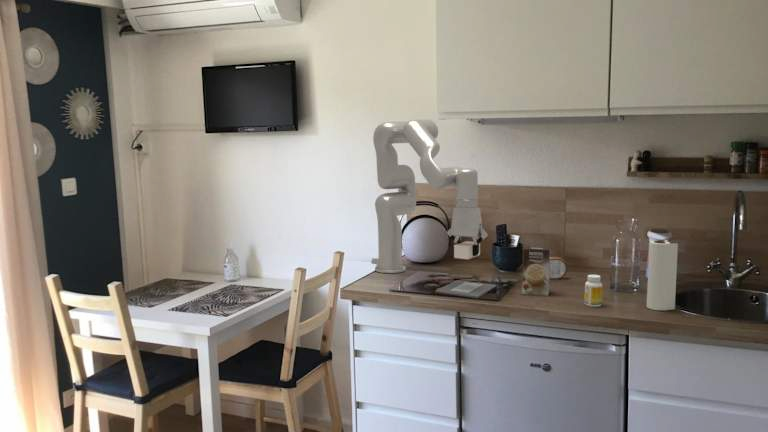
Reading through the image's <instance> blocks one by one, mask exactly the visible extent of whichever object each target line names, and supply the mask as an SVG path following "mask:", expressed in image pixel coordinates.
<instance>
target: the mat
mask: <svg viewBox="0 0 768 432" xmlns="http://www.w3.org/2000/svg"><path fill="white" fill-rule="evenodd" d="M496 286H497V287H498V284H493V283H492V284H491V283H483V282H475V281H468V280H461V279H460V280H459V279H456V280H454V281H452V282H450V283H449V284H446V285H444V286H442V287H439V288H438V289H436V290H434V292H435V293H436V294H437V293H438V294H443V295H451V296H459V297H468V298H474V299H479V298H480V297H482V296H484V295H485V294H487V293H489V292H490V291H492V290H494V289H495V288H494V287H496ZM497 287H496V288H497ZM493 288H494V289H493ZM491 289H492V290H491ZM488 291H489V292H488Z"/></svg>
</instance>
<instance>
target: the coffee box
mask: <svg viewBox="0 0 768 432" xmlns="http://www.w3.org/2000/svg"><path fill="white" fill-rule="evenodd" d="M522 253H523V254H522V286H521V294H522V295H530V296H531V295H534V296H545V297H546V296H549V293H550V279H549V273H550V257H551V247H550V246H542V245H541V246H537V245H524V246H523V250H522Z"/></svg>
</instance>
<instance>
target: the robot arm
mask: <svg viewBox="0 0 768 432" xmlns="http://www.w3.org/2000/svg"><path fill="white" fill-rule="evenodd" d="M438 135H439V127H438V126H437V124H436V123H435V121H433V120H431V119H410V120H408V121H386V122H382V123H380V124H378V125H377V126H376V127H375V129H374V131H373V136H372V137H373V138H372V140H373V146H374V150H375V156H376V170H377V171H376V172H377V173H376V174H377V175H376V177H377V184H378V186H379V187H380V189H382V190H395V189H396V190H397V191H395V192H394V191H392V192H386V193H382V194H380V195H378V197H377V198H376V199H375V202H374V207H375V213H376V219H377V233H378V234H377V236H378V237H377V239H378V241H377V242H378V243H377V244H378V245H377V246H378V258H374V257H373V258H372V259H371V260H370V261H371V263H370V264H373V265H376V266H375V267H374V271H376V272H377V273H382V274H397V273H402V272H403V273H404V272H405V271H406V270H407V267H406V265H403V246H402V245H403V243H402V242H403V237H402V233H403V232H402V229H403V228H402V225H401V222H400V220H399V219H398V216H405V215H410V214H412V213H413V212H414V211H415V209H416V206H417V194H416V193H417V192H416V191H417V190H416V176H415V172H414V170H413V169H412V168H411V166H409V165H407V164H399V159H398V153H397V151H396V149H395V146H394V145H393V144H409V145H410V147H411V148H412V149H413V150H414V151H415V153H416V154H417V156H418V157H419V158H420V159H419V168H420V171H421V172H420V173H421V175H422V176H423V178H424V179H425V180H426V181H427V183H428V184H429V185H430V186H431V187H432V188H434V189H435V190H447V189H455V199H454V200H452V204H453V205H455V207H453V211H452V217H451V227H450V228H449V229H448V230H447V231H446V235H448V236H449V237H450V238H451V240H452V241H453V243H454V245H455V244H460V243H462V242H461V239H462V237H464V238H472V242H474V245H473V256H476V255H478V253H479V244H480V245H481V243H482V242H483V241H484V239H486V238H487V237H488V236H489V233H488V232H487V231H486V230H485V229H484V228H483V222H482V215H481V209H480V207H479V205H478V202H479V201H478V200H479V198H478V195H479V194H478V193H479V190H478V189H479V185H478V182H479V181H478V177H479V176H478V174H479V173H478V171H477V169H475V168H463V167H458V166H456V167H455V166H453V167H439V166H438V164H437V163H435V161H434V160H433V159H434V158H435V157H436V156H437V155H438V154H439V153H440V151H441V146H440V143H439V142H438V141H437V140H436V139H437V138H438ZM480 235H481V236H480ZM479 236H480V237H479ZM476 257H477V256H476Z"/></svg>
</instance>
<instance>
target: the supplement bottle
mask: <svg viewBox="0 0 768 432" xmlns="http://www.w3.org/2000/svg"><path fill="white" fill-rule="evenodd" d="M586 279H587V281H586V282H585V283H584V297H583V300H584V305H585V306H587V307H592V308H594V307H595V308H599V307H601V306H602V303H603V283H602V281H601V275H598V274H587V278H586Z"/></svg>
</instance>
